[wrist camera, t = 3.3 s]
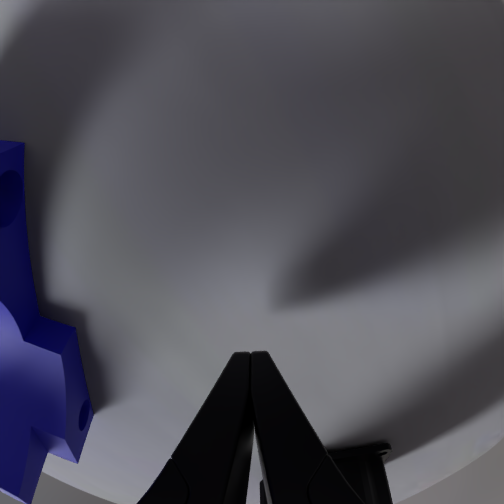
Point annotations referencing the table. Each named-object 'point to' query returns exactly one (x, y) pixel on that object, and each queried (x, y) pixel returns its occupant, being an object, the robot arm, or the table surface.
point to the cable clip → (32, 355)
